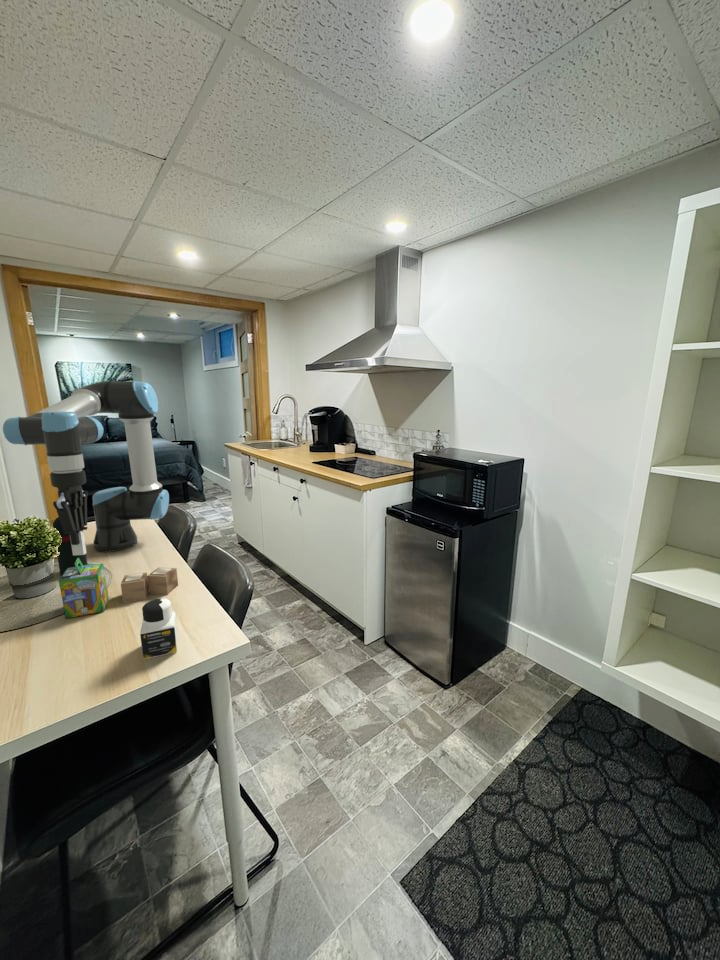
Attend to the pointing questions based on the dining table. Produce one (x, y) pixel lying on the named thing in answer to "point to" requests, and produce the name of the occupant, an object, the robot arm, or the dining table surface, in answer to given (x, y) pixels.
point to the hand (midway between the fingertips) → (79, 554)
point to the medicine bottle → (158, 629)
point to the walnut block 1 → (134, 587)
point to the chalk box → (83, 589)
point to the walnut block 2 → (162, 580)
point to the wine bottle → (66, 550)
